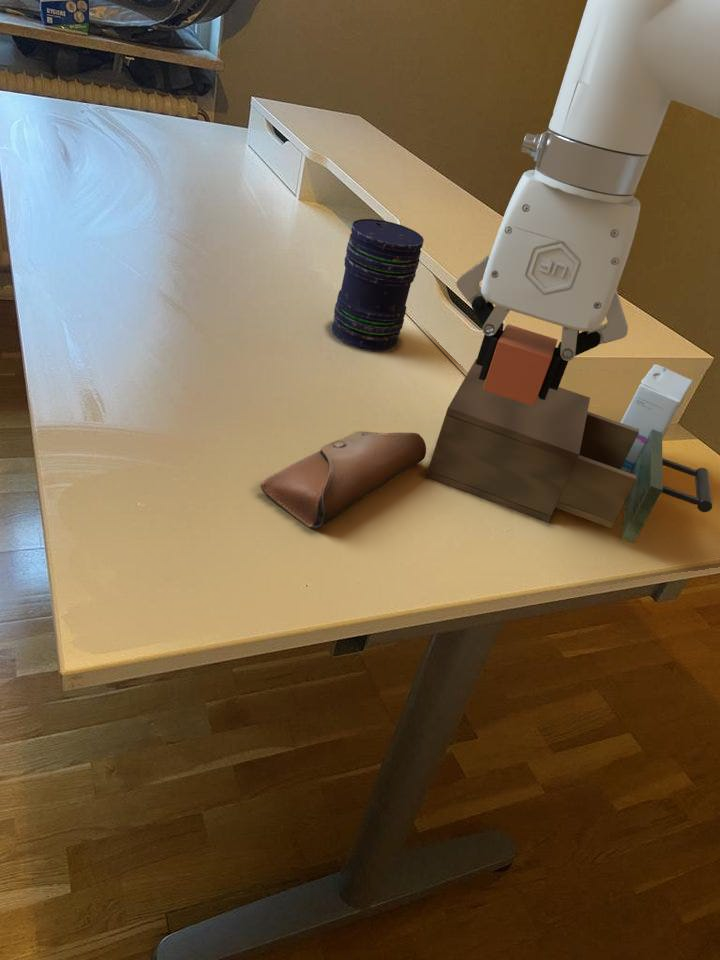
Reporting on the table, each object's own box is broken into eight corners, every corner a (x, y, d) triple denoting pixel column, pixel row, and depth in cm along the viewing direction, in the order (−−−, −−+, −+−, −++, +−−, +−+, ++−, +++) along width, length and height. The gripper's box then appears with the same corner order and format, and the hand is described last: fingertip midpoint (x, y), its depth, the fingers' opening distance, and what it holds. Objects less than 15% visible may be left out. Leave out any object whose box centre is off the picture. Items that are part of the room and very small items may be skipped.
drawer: (685, 499, 85) (713, 450, 81) (689, 563, 74) (722, 511, 70) (533, 444, 88) (553, 395, 84) (516, 499, 77) (538, 445, 73)
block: (540, 386, 67) (558, 339, 64) (533, 406, 63) (552, 358, 60) (491, 370, 67) (507, 323, 65) (482, 389, 64) (498, 341, 61)
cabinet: (563, 459, 88) (590, 397, 83) (548, 522, 77) (579, 454, 72) (455, 421, 90) (476, 358, 86) (425, 476, 79) (447, 407, 74)
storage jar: (410, 350, 104) (438, 247, 96) (349, 353, 100) (373, 244, 91) (377, 319, 111) (401, 220, 103) (319, 320, 106) (338, 216, 98)
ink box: (636, 488, 86) (682, 401, 80) (596, 469, 88) (637, 382, 81) (651, 460, 93) (695, 377, 86) (613, 443, 94) (653, 360, 88)
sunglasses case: (362, 427, 83) (398, 396, 79) (397, 478, 83) (436, 450, 79) (253, 486, 70) (289, 453, 66) (295, 547, 70) (334, 518, 65)
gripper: (469, 144, 53) (411, 369, 63) (706, 208, 50) (606, 433, 61) (489, 132, 59) (433, 340, 69) (701, 189, 56) (610, 397, 67)
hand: (514, 381), depth 65 cm, fingers closed on block, 4 cm apart
